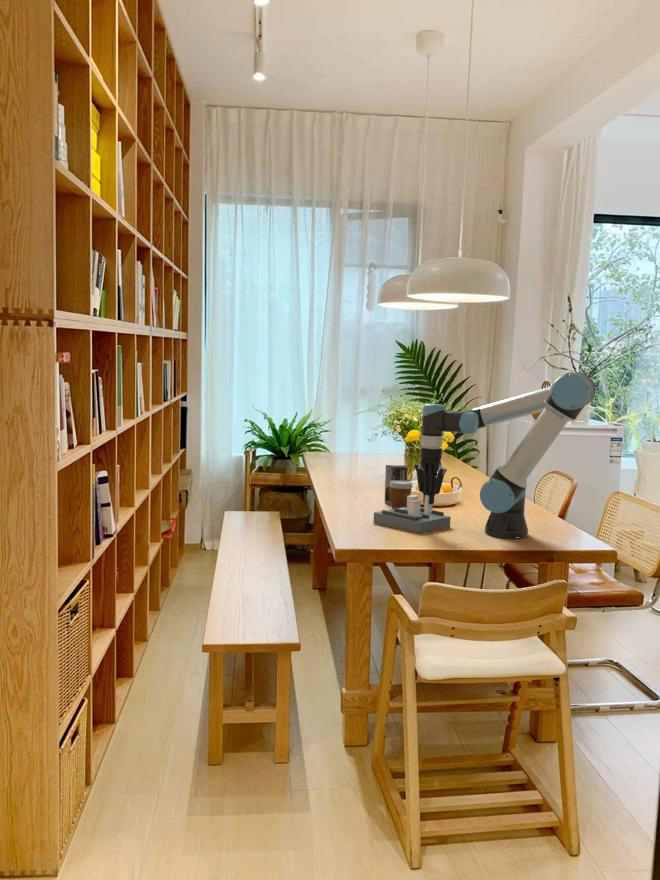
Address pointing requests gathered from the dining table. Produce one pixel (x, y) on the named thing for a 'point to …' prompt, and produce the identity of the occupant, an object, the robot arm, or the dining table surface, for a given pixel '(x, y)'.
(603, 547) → the dining table surface
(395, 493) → the disposable coffee cup
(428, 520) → the dark grey tray
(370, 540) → the dining table surface
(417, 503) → the breaker slider
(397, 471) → the coffee box
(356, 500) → the dining table surface
